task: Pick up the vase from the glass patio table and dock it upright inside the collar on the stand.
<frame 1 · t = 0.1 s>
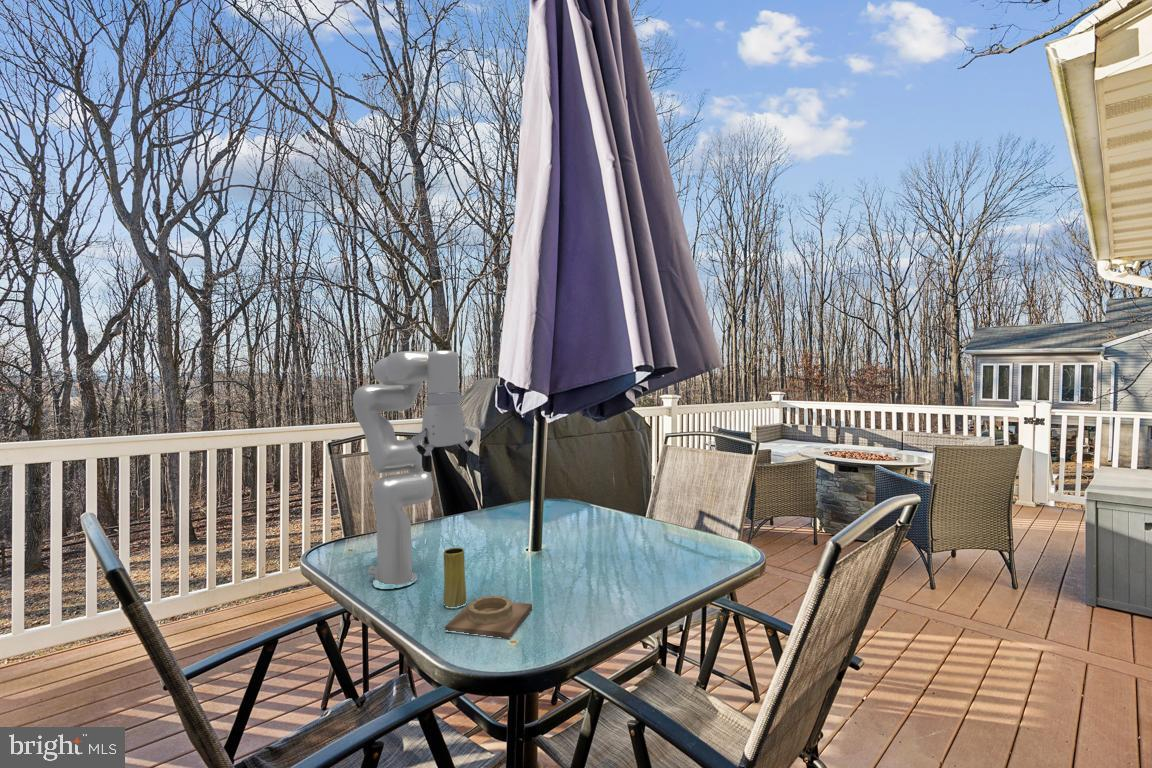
hand: (445, 469, 133), 37 cm above the table, tool pointing down, fingers open, 9 cm apart
stand: (490, 620, 131), on the table
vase: (455, 605, 141), on the table
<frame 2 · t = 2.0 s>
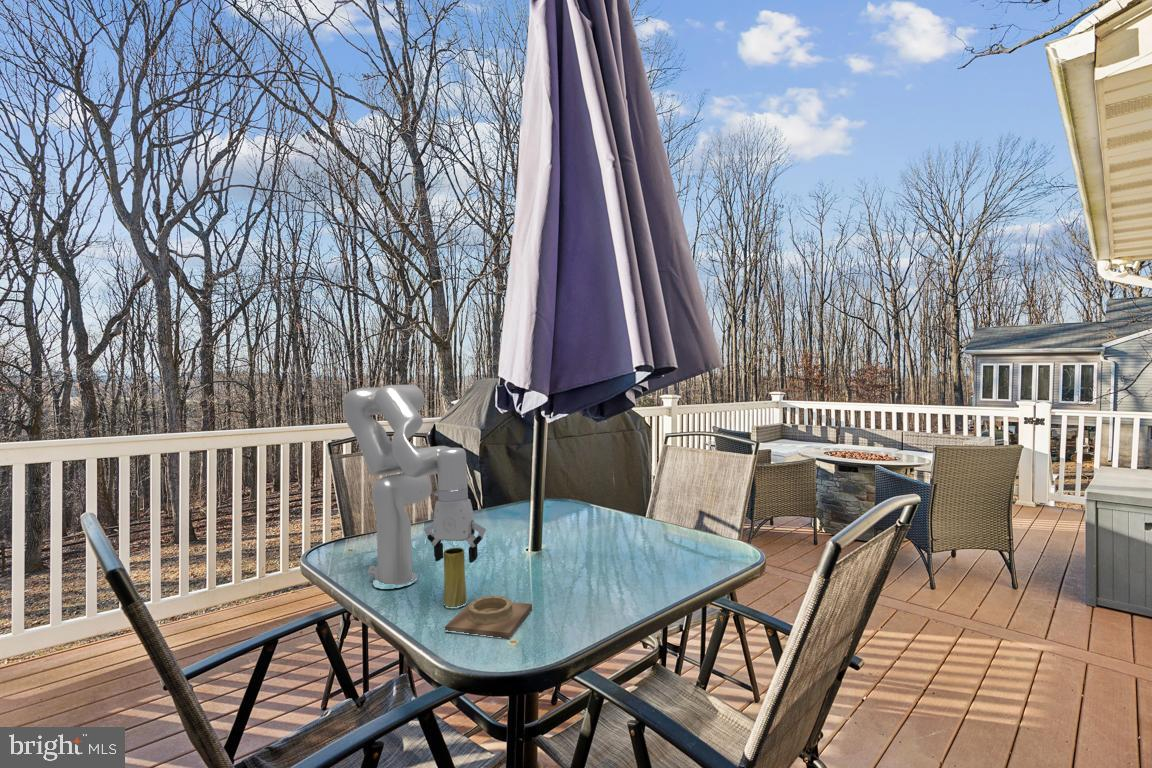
hand: (456, 560, 140), 12 cm above the table, tool pointing down, fingers open, 9 cm apart
nothing on the table moved.
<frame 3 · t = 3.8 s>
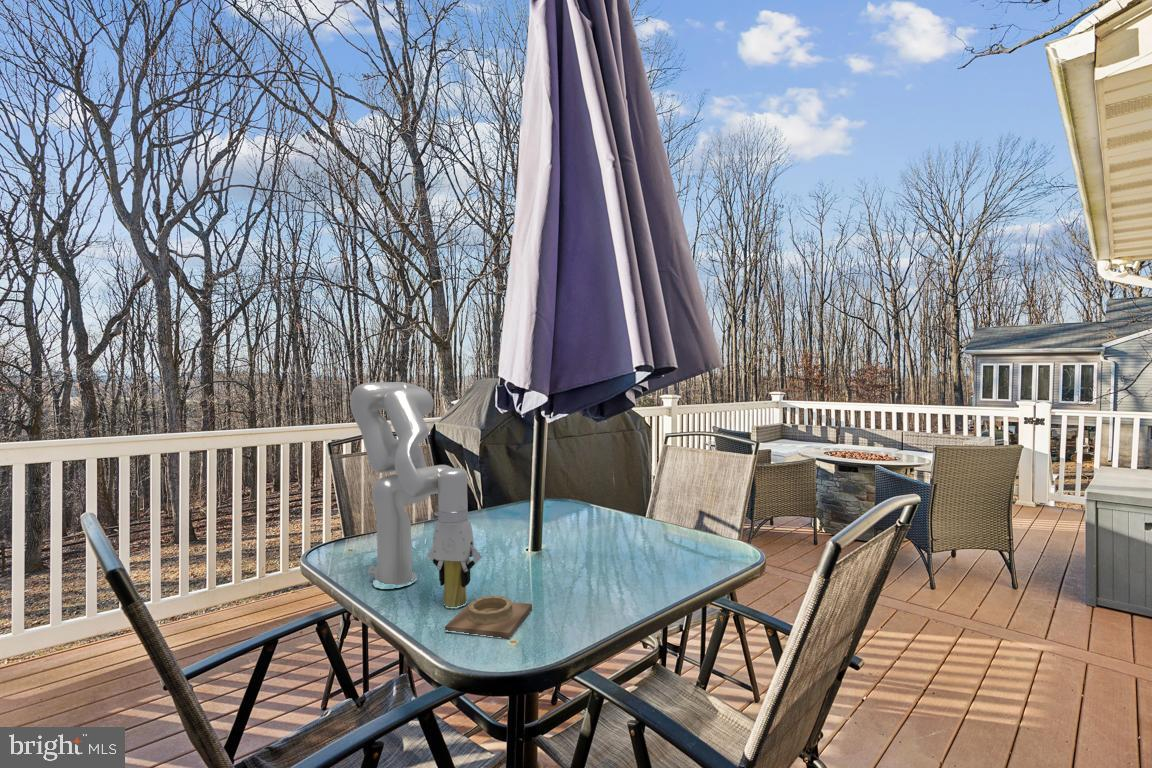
hand: (454, 583, 141), 6 cm above the table, tool pointing down, fingers closed on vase, 5 cm apart
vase: (455, 605, 141), on the table, touching gripper
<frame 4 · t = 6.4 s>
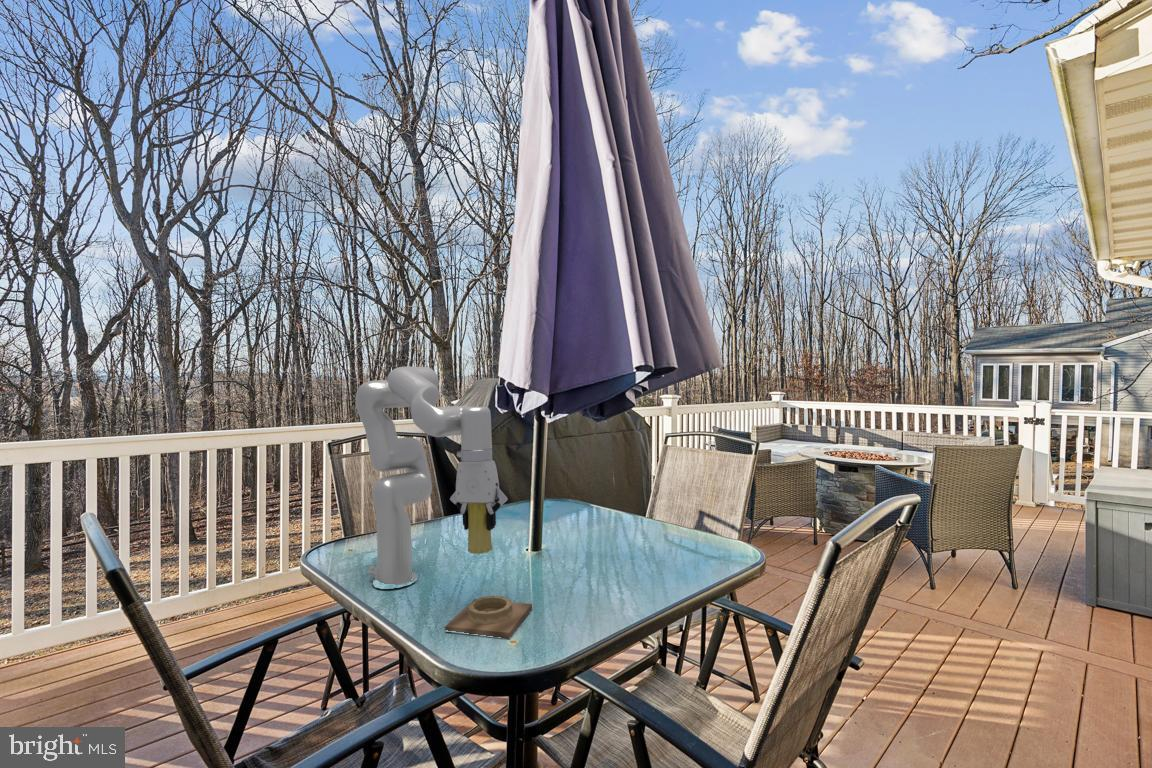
hand: (479, 528, 133), 22 cm above the table, tool pointing down, fingers closed on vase, 5 cm apart
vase: (480, 550, 133), point 16 cm above the table, touching gripper
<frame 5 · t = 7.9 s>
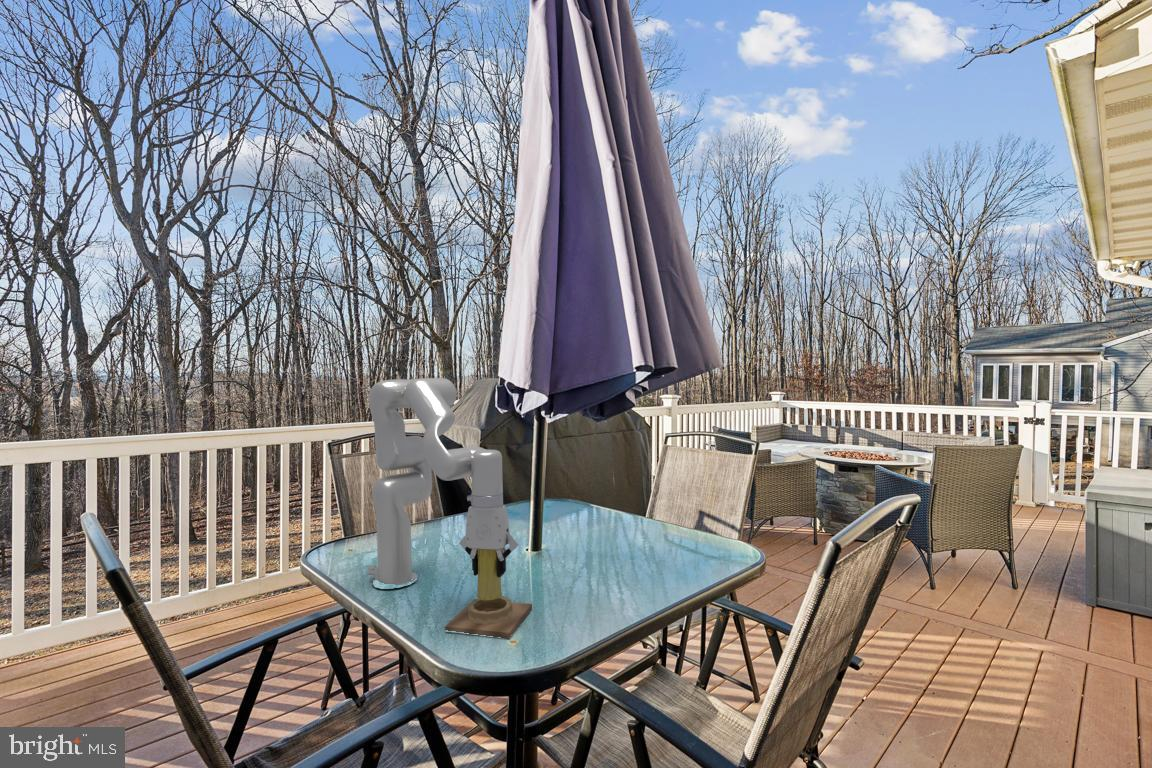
hand: (489, 573, 131), 12 cm above the table, tool pointing down, fingers closed on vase, 5 cm apart
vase: (489, 597, 131), point 6 cm above the table, touching gripper
when the fingers open (8 cm above the table, at t = 9.1 s): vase stays where it is, resting on stand.
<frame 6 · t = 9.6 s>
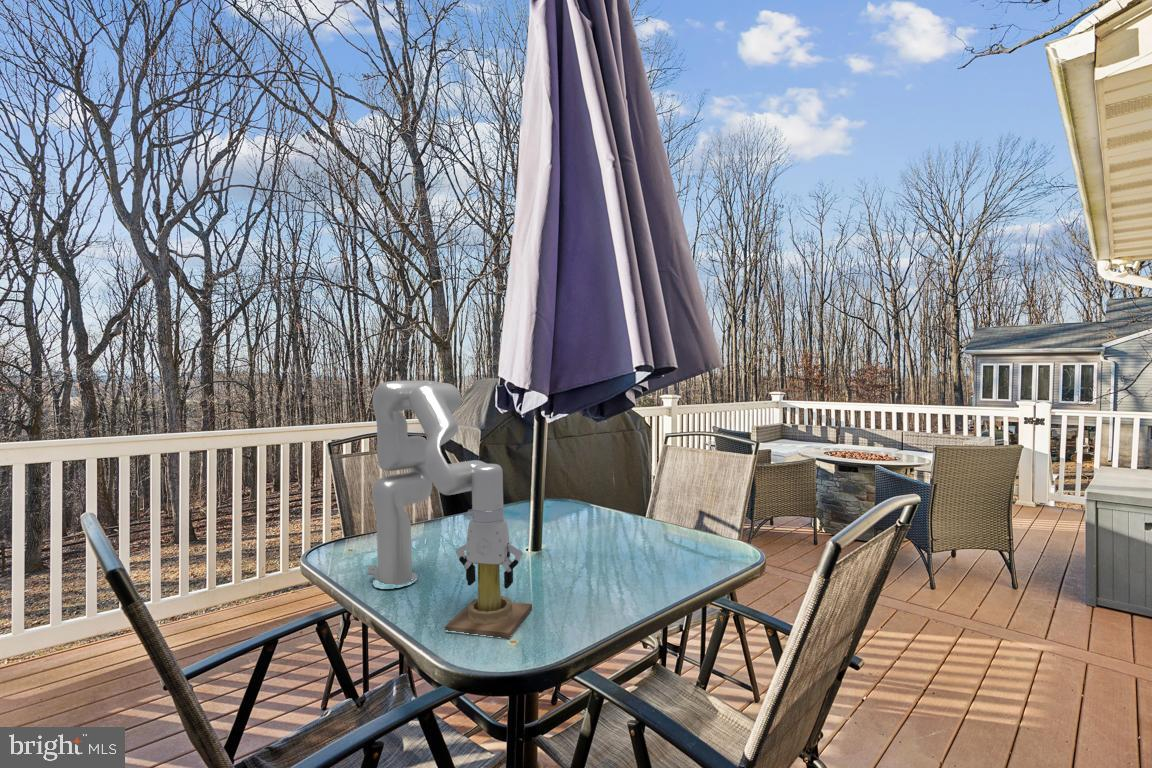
hand: (489, 584, 131), 9 cm above the table, tool pointing down, fingers open, 9 cm apart
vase: (489, 615, 131), point 1 cm above the table, touching stand
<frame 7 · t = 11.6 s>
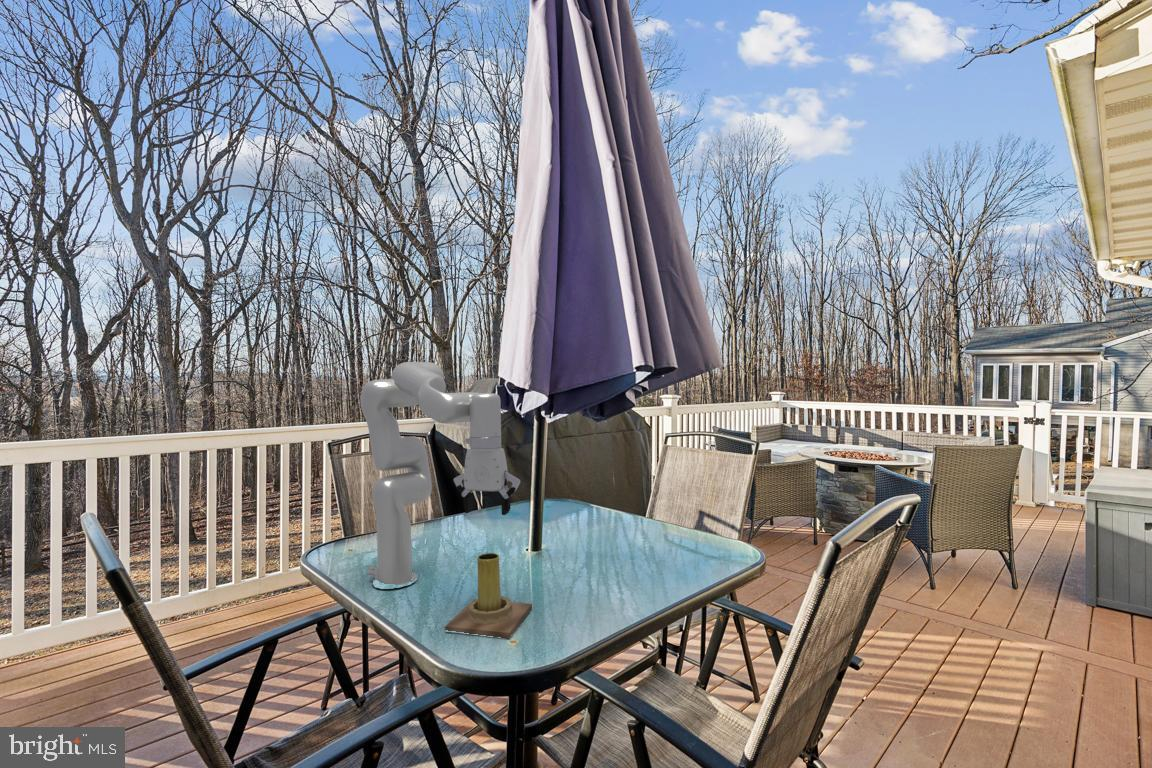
hand: (487, 512, 132), 26 cm above the table, tool pointing down, fingers open, 9 cm apart
nothing on the table moved.
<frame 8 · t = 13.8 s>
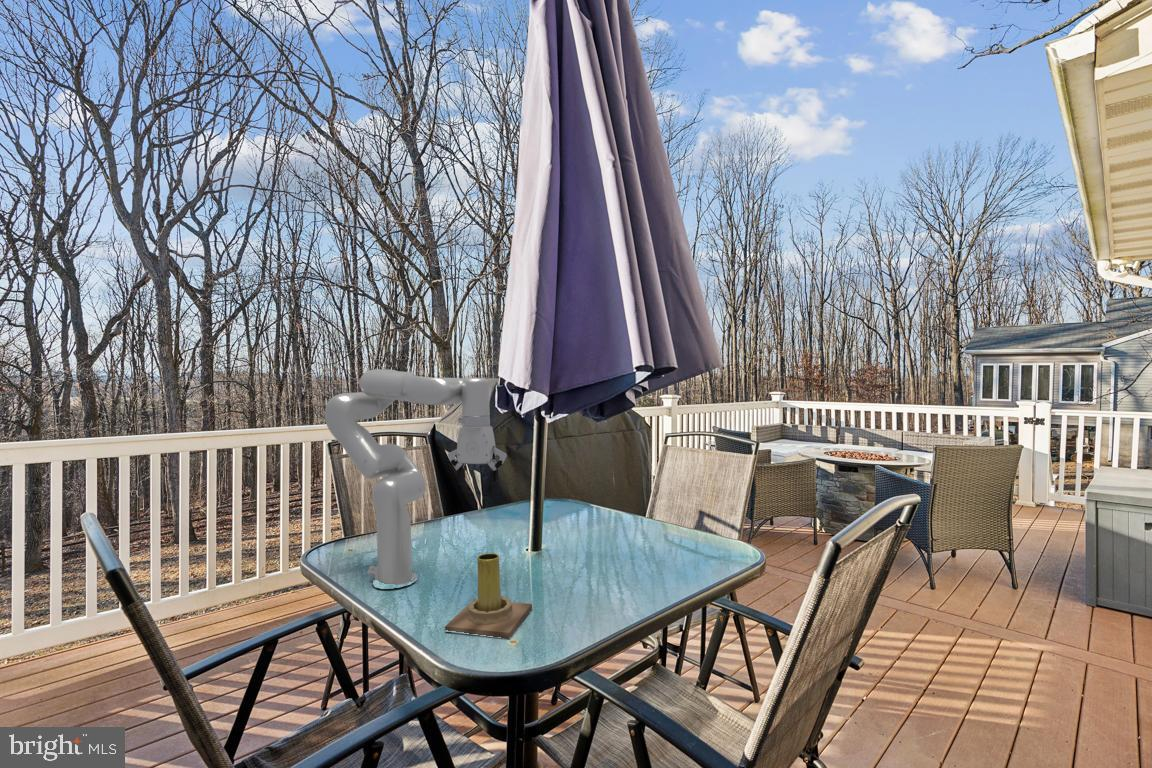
hand: (477, 483, 149), 30 cm above the table, tool pointing down, fingers open, 9 cm apart
nothing on the table moved.
at the end: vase 0.2 cm from the stand (horizontally); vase point 1.3 cm above the table; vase tilted 0° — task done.
